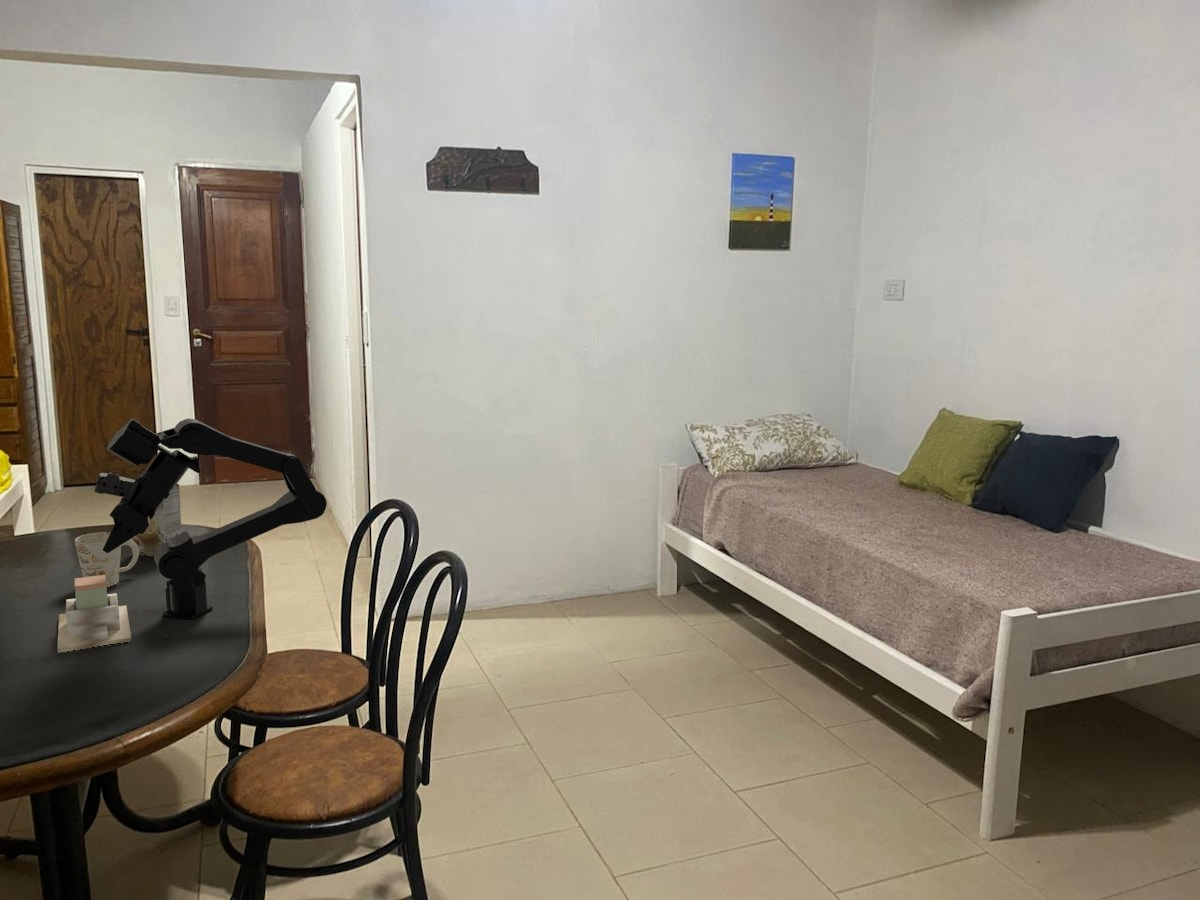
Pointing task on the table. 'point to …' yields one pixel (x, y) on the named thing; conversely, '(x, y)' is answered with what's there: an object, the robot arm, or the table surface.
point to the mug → (102, 557)
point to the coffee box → (161, 525)
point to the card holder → (93, 626)
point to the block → (91, 592)
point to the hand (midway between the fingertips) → (105, 551)
